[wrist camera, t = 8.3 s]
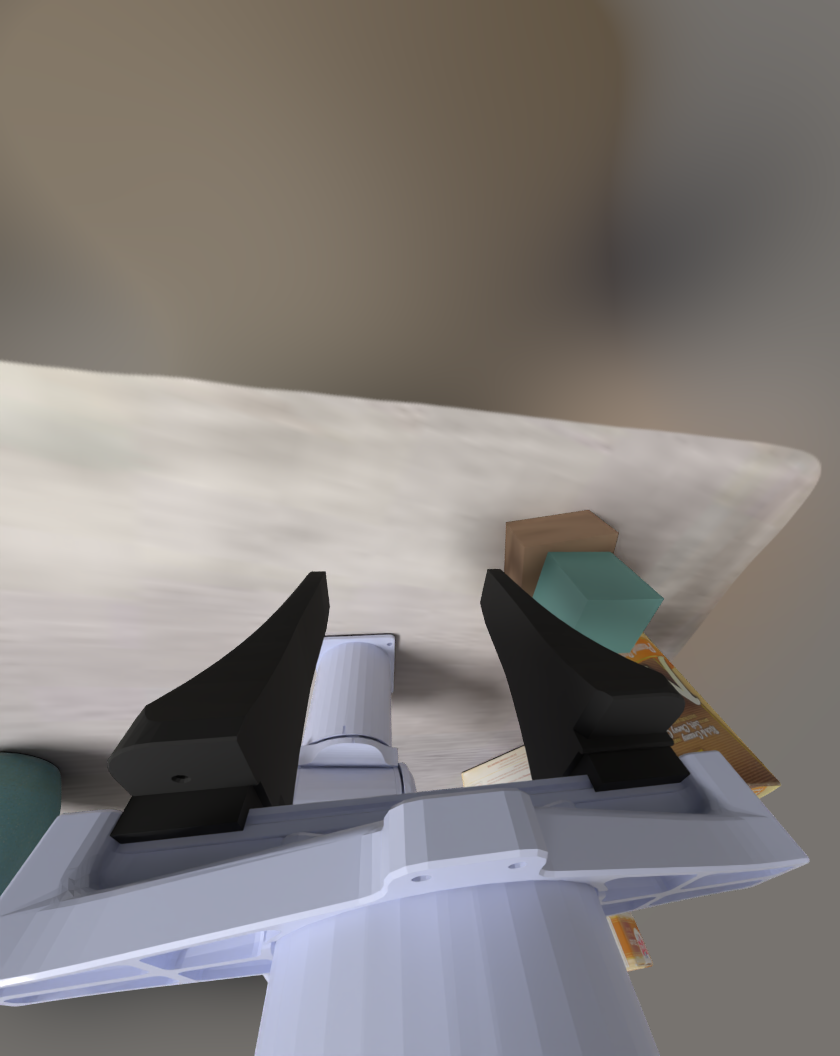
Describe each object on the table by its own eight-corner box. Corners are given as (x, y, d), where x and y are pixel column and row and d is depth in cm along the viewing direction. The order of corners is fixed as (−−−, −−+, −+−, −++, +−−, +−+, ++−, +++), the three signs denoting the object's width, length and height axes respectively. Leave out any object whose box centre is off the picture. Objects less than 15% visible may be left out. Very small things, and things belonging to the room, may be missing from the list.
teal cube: (587, 601, 25) (629, 652, 20) (530, 602, 24) (562, 655, 20) (610, 551, 22) (664, 598, 18) (548, 551, 22) (588, 600, 17)
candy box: (615, 599, 31) (790, 783, 17) (597, 627, 33) (741, 812, 19) (536, 595, 29) (661, 793, 16) (522, 625, 31) (623, 823, 18)
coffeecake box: (481, 784, 51) (528, 996, 34) (459, 772, 47) (499, 999, 31) (560, 750, 47) (657, 968, 30) (542, 735, 44) (639, 969, 27)
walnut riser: (574, 572, 28) (600, 602, 25) (502, 584, 28) (519, 615, 25) (586, 508, 25) (618, 532, 21) (505, 520, 25) (524, 547, 21)
